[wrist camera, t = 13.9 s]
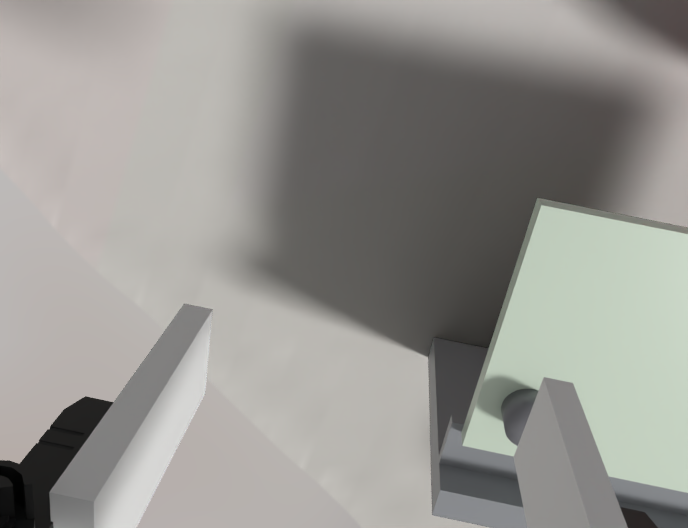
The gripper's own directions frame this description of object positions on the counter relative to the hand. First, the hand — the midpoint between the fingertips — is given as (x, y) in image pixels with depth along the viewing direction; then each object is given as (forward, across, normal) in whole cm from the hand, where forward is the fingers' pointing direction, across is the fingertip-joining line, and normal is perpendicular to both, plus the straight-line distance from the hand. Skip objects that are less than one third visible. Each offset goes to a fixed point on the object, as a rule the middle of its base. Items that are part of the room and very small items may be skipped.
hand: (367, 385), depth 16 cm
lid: (+8, +14, -2) cm, 16 cm away
